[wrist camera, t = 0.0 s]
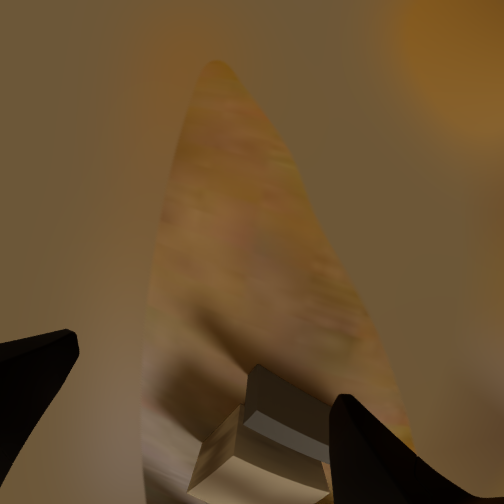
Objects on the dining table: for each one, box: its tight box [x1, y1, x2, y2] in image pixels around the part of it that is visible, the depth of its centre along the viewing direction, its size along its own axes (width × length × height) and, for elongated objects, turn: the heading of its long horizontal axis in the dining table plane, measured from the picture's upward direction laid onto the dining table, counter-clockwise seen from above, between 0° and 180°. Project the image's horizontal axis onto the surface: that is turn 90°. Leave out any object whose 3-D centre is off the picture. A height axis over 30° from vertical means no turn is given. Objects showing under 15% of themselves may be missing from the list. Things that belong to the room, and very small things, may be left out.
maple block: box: [187, 404, 330, 504], centre depth 19 cm, size 7×10×8 cm
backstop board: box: [243, 364, 332, 464], centre depth 19 cm, size 2×12×8 cm, turn 54°
